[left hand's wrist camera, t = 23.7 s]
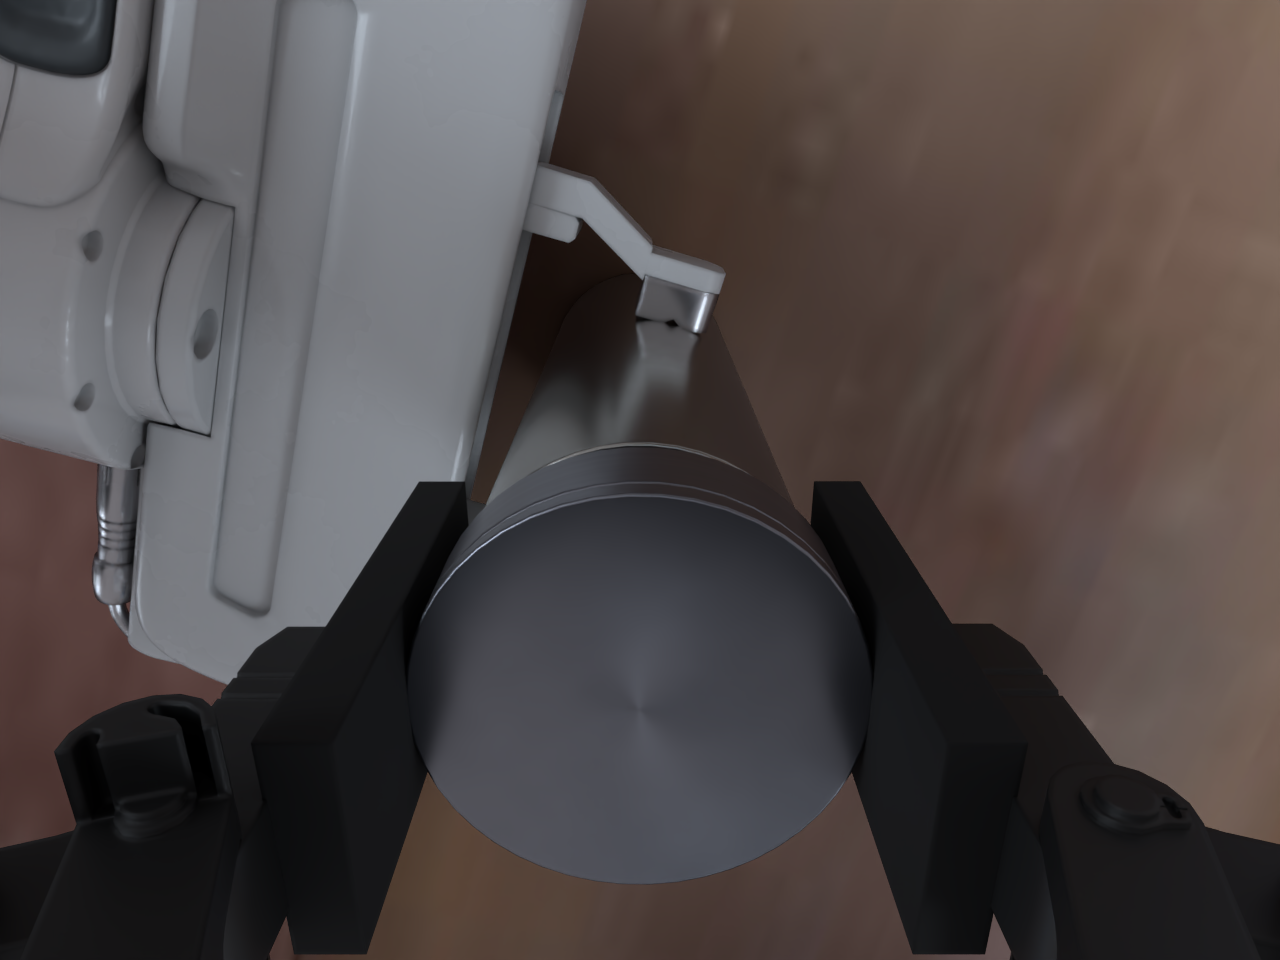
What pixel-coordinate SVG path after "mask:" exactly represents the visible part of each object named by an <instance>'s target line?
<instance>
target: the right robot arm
mask: <svg viewBox="0 0 1280 960" xmlns="http://www.w3.org/2000/svg"><path fill="white" fill-rule="evenodd" d="M586 1H587V0H0V438H1V439H5V440H9V441H12V442H16V443H20V444H23V445H26V446H30V447H34V448H38V449H42V450H46V451H50V452H54V453H58V454H62V455H66V456H70V457H74V458H78V459H82V460H86V461H90V462H94V463H98V470H97V490H96V513H97V521H98V550H97V552H96V553H95V555H94V559H93V564H92V584H93V590H94V594H95V597H96V599H97V600H98V601H99V602H101V603H103V604H107V605H108V606H109V610H110V613H111V615H112V617H113V619H114V621H115V623H116V624H117V626H118V627H119V629H120V630H121V631H122V632H123V633H124V634H125V635H126V636H127V637H128V641H129V644H130V645H131V646H132V647H133V648H134V649H136V650H137V651H139V652H141V653H143V654H145V655H148V656H150V657H153V658H157V659H161V660H165V661H170V662H174V663H178V664H181V665H183V666H185V667H187V668H189V669H191V670H193V671H196V672H198V673H200V674H202V675H204V676H207V677H209V678H211V679H214V680H217V681H219V682H222V683H224V684H227V685H228V684H229V683H230V682H231V680H232V679H233V678H237V672H238V671H239V670H240V668H241V667H242V666H243V664H244V663H245V662H246V660H247V659H248V658H249V656H250V655H251V654H252V652H253V651H254V650H255V648H257V647H258V646H259V645H261V644H262V643H264V642H265V641H267V640H268V639H270V638H271V637H273V636H274V635H276V634H277V633H279V632H280V631H282V630H283V629H285V628H286V627H326V625H327V624H328V622H329V620H330V619H331V617H332V616H333V614H334V613H335V611H336V610H337V608H338V606H339V605H340V603H341V602H342V600H343V599H344V597H345V596H346V594H347V592H348V591H349V589H350V588H351V586H352V585H353V583H354V582H355V580H356V579H357V577H358V575H359V574H360V572H361V571H362V569H363V568H364V566H365V565H366V563H367V561H368V560H369V558H370V557H371V555H372V554H373V552H374V551H375V549H376V548H377V546H378V544H379V543H380V541H381V540H382V538H383V537H384V535H385V534H386V532H387V530H388V529H389V527H390V526H391V524H392V523H393V521H394V520H395V518H396V517H397V515H398V513H399V512H400V510H401V509H402V507H403V506H404V504H405V503H406V501H407V499H408V498H409V496H410V495H411V493H412V492H413V490H414V489H415V487H416V486H417V484H418V482H419V481H465V486H466V499H467V511H468V523H469V525H470V523H471V522H472V521H473V520H474V518H475V517H476V516H477V515H478V514H479V513H480V512H481V511H482V510H483V509H484V508H485V506H486V504H483V503H479V502H475V501H472V500H470V499H471V494H472V490H473V486H474V482H475V477H476V473H477V469H478V464H479V460H480V456H481V452H482V447H483V443H484V439H485V434H486V430H487V426H488V422H489V417H490V413H491V409H492V404H493V400H494V396H495V392H496V387H497V383H498V379H499V374H500V370H501V366H502V362H503V357H504V353H505V349H506V344H507V340H508V336H509V332H510V327H511V323H512V319H513V314H514V310H515V306H516V302H517V297H518V293H519V289H520V284H521V280H522V276H523V272H524V267H525V263H526V259H527V254H528V250H529V246H530V242H531V237H532V233H536V234H539V235H543V236H546V237H550V238H553V239H557V240H560V241H564V242H567V243H570V242H571V241H573V240H574V239H575V238H576V237H577V235H578V234H579V232H580V231H581V228H582V224H583V220H584V221H585V222H586V223H587V224H588V225H589V226H590V227H591V228H592V229H593V230H594V231H595V232H596V233H597V234H598V235H599V236H600V237H601V238H602V239H603V240H604V241H605V242H606V243H607V244H608V245H609V246H610V247H611V249H612V250H613V251H614V252H615V253H616V254H617V255H618V256H619V257H620V258H621V259H622V260H623V261H624V262H625V263H626V264H627V265H628V266H629V267H630V268H631V269H632V270H633V271H634V272H635V273H636V274H637V275H638V276H639V277H640V278H641V283H640V287H639V291H638V294H637V298H636V302H635V307H636V308H635V315H636V316H640V317H643V318H647V319H650V320H653V321H660V322H667V321H670V320H673V319H674V321H675V322H676V323H677V324H678V326H679V327H681V328H684V329H686V330H689V331H692V332H696V333H706V332H707V329H708V326H709V323H710V320H711V317H712V314H713V312H714V309H715V306H716V303H717V300H718V297H719V293H720V290H721V287H722V284H723V281H724V278H725V275H726V273H725V271H724V270H723V268H722V267H720V266H718V265H716V264H713V263H711V262H709V261H706V260H702V259H699V258H696V257H692V256H689V255H686V254H682V253H679V252H676V251H672V250H669V249H666V248H662V247H659V246H656V245H653V244H652V238H651V237H650V236H649V235H648V234H647V233H646V232H645V231H644V230H643V229H642V228H641V227H640V225H639V224H638V223H637V222H636V221H635V220H634V219H633V218H632V217H631V216H630V215H629V214H628V213H627V211H626V210H625V209H624V208H623V207H622V206H621V205H620V204H619V203H618V202H617V201H616V200H615V199H614V197H613V196H612V195H611V194H610V193H609V192H608V191H607V190H606V189H605V188H604V187H603V186H602V185H601V183H600V182H599V181H598V180H597V179H596V178H594V177H591V176H588V175H585V174H581V173H578V172H575V171H571V170H568V169H565V168H562V167H558V166H555V165H552V164H549V160H550V156H551V152H552V147H553V143H554V139H555V134H556V130H557V126H558V122H559V117H560V113H561V109H562V104H563V100H564V96H565V92H566V87H567V83H568V79H569V74H570V70H571V66H572V62H573V57H574V53H575V49H576V44H577V40H578V36H579V32H580V27H581V23H582V19H583V14H584V10H585V6H586ZM130 601H131V602H130ZM128 602H130V613H129V611H128V609H127V606H126V603H128Z"/></svg>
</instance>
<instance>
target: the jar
mask: <svg viewBox="0 0 1280 960" xmlns="http://www.w3.org/2000/svg"><path fill="white" fill-rule="evenodd" d="M640 283H641V278H640V277H639V276H638V275H637V274H636V273H631V274H624V275H620V276H616V277H612V278H610V279H607V280H605V281H603V282H601V283H599V284H597V285H596V286H594V287H592V288H591V289H589V290H588V291H587V292H586V293H584V294H583V295H582V296H581V297H580V298H579V299H578V300H577V301H576V302H575V304H574V305H573V306H572V308H571V309H570V310H569V312H568V314H567V315H566V317H565V319H564V321H563V323H562V326H561V328H560V330H559V333H558V335H557V337H556V340H555V342H554V345H553V347H552V349H551V352H550V354H549V356H548V359H547V361H546V363H545V366H544V368H543V371H542V373H541V375H540V378H539V380H538V382H537V385H536V387H535V390H534V392H533V394H532V397H531V399H530V401H529V404H528V406H527V408H526V411H525V413H524V416H523V418H522V420H521V423H520V425H519V427H518V430H517V432H516V435H515V437H514V439H513V442H512V444H511V446H510V449H509V451H508V454H507V456H506V458H505V461H504V463H503V465H502V468H501V470H500V472H499V475H498V477H497V480H496V482H495V484H494V487H493V489H492V491H491V494H490V496H489V499H488V501H487V503H486V506H487V505H488V504H489V503H490V502H491V501H492V500H494V499H495V498H496V497H497V496H498V495H499V494H501V493H502V492H504V491H505V490H506V489H508V488H509V487H511V486H512V485H513V484H515V483H516V482H518V481H519V480H521V479H523V478H525V477H527V476H528V475H530V474H532V473H534V472H536V471H538V470H540V469H542V468H544V467H546V466H549V465H551V464H554V463H557V462H559V461H562V460H565V459H567V458H570V457H574V456H578V455H582V454H586V453H591V452H595V451H599V450H608V449H617V448H626V447H645V448H664V449H671V450H678V451H685V452H690V453H694V454H697V455H701V456H705V457H708V458H712V459H716V460H718V461H721V462H723V463H725V464H728V465H730V466H733V467H735V468H737V469H740V470H742V471H744V472H746V473H747V474H749V475H751V476H753V477H754V478H756V479H758V480H760V481H761V482H763V483H765V484H767V485H768V486H769V487H770V488H772V489H773V490H774V491H776V492H777V493H778V494H779V495H781V496H782V497H783V498H785V499H786V500H787V501H788V502H789V503H790V504H791V505H792V506H793V507H794V505H793V503H792V500H791V498H790V496H789V493H788V491H787V489H786V486H785V484H784V481H783V479H782V477H781V474H780V472H779V470H778V467H777V465H776V462H775V460H774V458H773V455H772V453H771V451H770V448H769V446H768V444H767V441H766V439H765V436H764V434H763V432H762V429H761V427H760V425H759V422H758V420H757V418H756V415H755V413H754V410H753V408H752V406H751V403H750V401H749V399H748V396H747V394H746V392H745V389H744V387H743V384H742V382H741V380H740V377H739V375H738V373H737V370H736V368H735V365H734V363H733V361H732V358H731V356H730V354H729V351H728V349H727V347H726V344H725V342H724V339H723V337H722V335H721V332H720V330H719V328H718V325H717V323H716V321H715V319H714V317H713V315H712V317H711V320H710V323H709V326H708V329H707V332H706V333H696V332H692V331H689V330H686V329H684V328H681V327H679V326H678V324H677V323H676V322H675V321H674V319H673V320H670V321H667V322H660V321H653V320H650V319H647V318H643V317H640V316H636V315H635V308H636V307H635V302H636V298H637V294H638V291H639V287H640ZM486 506H485V507H486ZM794 508H795V507H794Z"/></svg>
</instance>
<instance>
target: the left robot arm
mask: <svg viewBox="0 0 1280 960" xmlns="http://www.w3.org/2000/svg"><path fill="white" fill-rule="evenodd" d="M468 526H469V523H468V511H467V499H466V486H465V481H419V482H418V484H417V486H416V487H415V489H414V490H413V492H412V493H411V495H410V496H409V498H408V499H407V501H406V503H405V504H404V506H403V507H402V509H401V510H400V512H399V513H398V515H397V517H396V518H395V520H394V521H393V523H392V524H391V526H390V527H389V529H388V530H387V532H386V534H385V535H384V537H383V538H382V540H381V541H380V543H379V544H378V546H377V548H376V549H375V551H374V552H373V554H372V555H371V557H370V558H369V560H368V561H367V563H366V565H365V566H364V568H363V569H362V571H361V572H360V574H359V575H358V577H357V579H356V580H355V582H354V583H353V585H352V586H351V588H350V589H349V591H348V592H347V594H346V596H345V597H344V599H343V600H342V602H341V603H340V605H339V606H338V608H337V610H336V611H335V613H334V614H333V616H332V617H331V619H330V620H329V622H328V624H327V625H326V627H286V628H285V629H283V630H282V631H280V632H279V633H277V634H276V635H274V636H273V637H271V638H270V639H268V640H267V641H265V642H264V643H262V644H261V645H259V646H258V647H257V648H255V650H254V651H253V652H252V654H251V655H250V656H249V658H248V659H247V660H246V662H245V663H244V664H243V666H242V667H241V668H240V670H239V671H238V672H237V678H233V679H232V680H231V682H230V683H229V684H228V686H227V687H226V688H225V690H224V691H223V692H222V696H221V699H217V700H216V701H215V703H214V704H213V705H212V706H210V705H209V704H208V703H207V702H205V701H204V700H203V699H201V698H197V697H192V696H187V695H183V694H172V695H154V696H149V697H145V698H141V699H137V700H133V701H129V702H125V703H122V704H120V705H117V706H115V707H113V708H111V709H108V710H106V711H104V712H102V713H99V714H97V715H95V716H93V717H91V718H90V719H89V720H87V721H86V722H84V723H83V724H81V725H80V726H78V727H77V728H76V729H74V730H73V731H71V732H70V733H69V734H68V735H67V736H66V738H65V739H64V740H63V741H62V742H61V744H60V745H59V746H58V747H57V749H56V750H55V751H54V753H55V756H56V760H57V763H58V766H59V769H60V772H61V776H62V779H63V782H64V785H65V788H66V792H67V795H68V798H69V801H70V804H71V807H72V811H73V814H74V817H75V820H76V823H77V825H76V827H75V830H74V831H70V832H67V833H63V834H60V835H57V836H52V837H48V838H43V839H39V840H35V841H30V842H26V843H21V844H17V845H12V846H8V847H3V848H0V960H270V956H269V953H270V951H271V948H272V946H273V944H274V942H275V940H276V937H277V935H278V933H279V931H280V929H281V926H282V924H283V922H284V920H285V918H286V916H287V921H288V926H289V931H290V936H291V941H292V945H293V950H294V954H367V951H368V948H369V945H370V942H371V939H372V936H373V933H374V930H375V927H376V924H377V921H378V918H379V915H380V912H381V909H382V906H383V903H384V900H385V897H386V894H387V891H388V888H389V885H390V882H391V879H392V876H393V873H394V870H395V867H396V864H397V862H398V859H399V856H400V853H401V850H402V847H403V844H404V841H405V838H406V835H407V832H408V829H409V826H410V823H411V820H412V817H413V814H414V811H415V808H416V805H417V802H418V799H419V796H420V793H421V790H422V787H423V784H424V781H425V778H426V775H427V772H428V771H427V769H426V768H425V766H424V764H423V761H422V759H421V757H420V754H419V752H418V750H417V747H416V745H415V743H414V739H413V735H412V729H411V722H410V714H409V705H408V697H407V687H406V670H407V662H408V658H409V653H410V648H411V644H412V639H413V637H414V634H415V632H416V629H417V627H418V624H419V622H420V619H421V617H422V614H423V612H424V610H425V607H426V605H427V603H428V601H429V599H430V597H431V594H432V592H433V590H434V588H435V586H436V584H437V581H438V579H439V577H440V575H441V573H442V570H443V568H444V566H445V564H446V562H447V560H448V557H449V555H450V554H451V552H452V550H453V549H454V547H455V545H456V543H457V542H458V540H459V538H460V537H461V535H462V534H463V532H464V531H465V530H466V529H467V527H468ZM811 527H812V528H813V530H814V531H815V532H816V534H817V535H818V536H819V538H820V539H821V540H822V542H823V544H824V546H825V548H826V550H827V552H828V554H829V556H830V557H831V559H832V561H833V563H834V565H835V568H836V570H837V572H838V574H839V576H840V578H841V581H842V583H843V585H844V587H845V589H846V592H847V594H848V596H849V598H850V600H851V602H852V605H853V607H854V609H855V611H856V613H857V616H858V618H859V620H860V622H861V625H862V628H863V631H864V634H865V637H866V640H867V643H868V646H869V650H870V656H871V662H872V668H873V689H872V699H871V707H870V715H869V723H868V731H867V736H866V739H865V742H864V746H863V749H862V751H861V753H860V755H859V757H858V760H857V762H856V764H855V766H854V768H853V770H852V774H853V777H854V780H855V783H856V786H857V789H858V792H859V795H860V798H861V801H862V804H863V807H864V810H865V813H866V816H867V819H868V822H869V825H870V828H871V831H872V834H873V837H874V840H875V843H876V846H877V849H878V852H879V855H880V858H881V861H882V864H883V867H884V870H885V873H886V876H887V879H888V882H889V885H890V888H891V890H892V893H893V896H894V899H895V902H896V905H897V908H898V911H899V914H900V917H901V920H902V923H903V926H904V929H905V932H906V935H907V938H908V941H909V944H910V947H911V950H912V953H913V954H985V952H986V947H987V942H988V937H989V932H990V927H991V922H992V918H993V913H994V915H995V917H996V919H997V922H998V924H999V926H1000V928H1001V930H1002V932H1003V935H1004V937H1005V939H1006V941H1007V943H1008V946H1009V948H1010V950H1011V956H1010V960H1280V844H1275V843H1271V842H1266V841H1262V840H1257V839H1253V838H1248V837H1244V836H1239V835H1235V834H1230V833H1226V832H1222V831H1219V830H1215V829H1212V828H1208V827H1205V826H1204V823H1203V822H1202V820H1201V819H1200V817H1199V816H1198V815H1197V813H1196V812H1195V810H1194V809H1193V807H1192V806H1191V805H1190V803H1189V802H1187V801H1186V800H1185V799H1184V798H1182V797H1181V796H1180V795H1179V794H1177V793H1176V792H1175V791H1174V790H1172V789H1171V788H1170V787H1169V786H1167V785H1166V784H1164V783H1162V782H1160V781H1158V780H1156V779H1154V778H1152V777H1150V776H1148V775H1146V774H1144V773H1142V772H1140V771H1137V770H1133V769H1130V768H1126V767H1123V766H1119V765H1116V764H1114V763H1113V762H1112V760H1111V759H1110V758H1109V757H1108V755H1107V754H1106V753H1105V751H1104V750H1103V749H1102V747H1101V746H1100V745H1099V743H1098V742H1097V741H1096V739H1095V738H1094V737H1093V735H1092V734H1091V733H1090V732H1089V730H1088V729H1087V728H1086V726H1085V725H1084V724H1083V722H1082V721H1081V720H1080V718H1079V717H1078V716H1077V714H1076V713H1075V712H1074V710H1073V709H1072V708H1071V707H1070V705H1069V704H1068V703H1067V701H1066V700H1065V699H1064V697H1063V696H1059V694H1058V689H1057V688H1056V687H1055V685H1054V684H1053V683H1052V682H1051V680H1050V679H1049V678H1048V676H1047V675H1043V670H1042V668H1041V667H1040V666H1039V664H1038V663H1037V662H1036V660H1035V659H1034V658H1033V656H1032V655H1031V654H1030V653H1029V651H1028V650H1027V649H1026V647H1025V646H1024V645H1023V644H1021V643H1020V642H1018V641H1017V640H1016V639H1014V638H1013V637H1011V636H1010V635H1008V634H1007V633H1005V632H1004V631H1002V630H1001V629H999V628H998V627H996V626H995V625H993V624H952V623H951V622H950V620H949V618H948V617H947V615H946V614H945V612H944V611H943V609H942V608H941V606H940V605H939V603H938V601H937V600H936V598H935V597H934V595H933V594H932V592H931V591H930V589H929V587H928V586H927V584H926V583H925V581H924V580H923V578H922V577H921V575H920V574H919V572H918V570H917V569H916V567H915V566H914V564H913V563H912V561H911V560H910V558H909V556H908V555H907V553H906V552H905V550H904V549H903V547H902V546H901V544H900V542H899V541H898V539H897V538H896V536H895V535H894V533H893V532H892V530H891V529H890V527H889V525H888V524H887V522H886V521H885V519H884V518H883V516H882V515H881V513H880V511H879V510H878V508H877V507H876V505H875V504H874V502H873V501H872V499H871V497H870V496H869V494H868V493H867V491H866V490H865V488H864V487H863V485H862V484H861V482H860V481H814V490H813V502H812V515H811Z"/></svg>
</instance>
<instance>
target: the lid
mask: <svg viewBox="0 0 1280 960" xmlns="http://www.w3.org/2000/svg"><path fill="white" fill-rule="evenodd" d="M406 687H407V697H408V705H409V714H410V722H411V729H412V735H413V739H414V743H415V745H416V747H417V750H418V752H419V754H420V757H421V759H422V761H423V764H424V766H425V768H426V769H427V771H428V773H429V774H430V776H431V778H432V779H433V781H434V783H435V784H436V786H437V788H438V789H439V790H440V791H441V793H442V794H443V795H444V796H445V798H446V799H447V800H448V801H449V803H450V804H451V805H452V806H453V808H454V809H455V810H456V811H457V812H458V813H460V814H461V815H462V816H463V817H464V818H465V819H466V820H467V821H468V822H469V823H470V824H471V825H472V826H473V827H474V828H476V829H477V830H478V831H480V832H481V833H482V834H484V835H485V836H486V837H488V838H489V839H490V840H492V841H493V842H495V843H496V844H498V845H500V846H501V847H503V848H505V849H507V850H508V851H510V852H512V853H513V854H515V855H517V856H519V857H521V858H523V859H526V860H528V861H530V862H532V863H535V864H537V865H539V866H541V867H544V868H547V869H550V870H553V871H557V872H560V873H563V874H566V875H569V876H574V877H579V878H583V879H588V880H593V881H600V882H608V883H617V884H660V883H672V882H680V881H686V880H691V879H696V878H702V877H706V876H709V875H713V874H716V873H720V872H723V871H726V870H730V869H732V868H735V867H737V866H740V865H742V864H745V863H747V862H749V861H752V860H754V859H756V858H758V857H760V856H762V855H764V854H766V853H767V852H769V851H771V850H773V849H775V848H777V847H778V846H780V845H781V844H783V843H784V842H786V841H787V840H789V839H790V838H791V837H793V836H794V835H796V834H797V833H799V832H800V831H801V830H802V829H804V828H805V827H806V826H807V825H808V824H809V823H810V822H811V821H812V820H814V819H815V818H816V817H817V816H818V815H819V814H820V813H821V812H822V811H823V810H824V809H825V807H826V806H827V805H828V804H829V803H830V802H831V801H832V799H833V798H834V797H835V796H836V795H837V794H838V792H839V791H840V789H841V788H842V786H843V784H844V783H845V781H846V780H847V778H848V777H849V775H850V774H851V772H852V770H853V768H854V766H855V764H856V762H857V760H858V757H859V755H860V753H861V751H862V749H863V746H864V742H865V739H866V736H867V731H868V723H869V715H870V707H871V699H872V689H873V668H872V662H871V656H870V650H869V646H868V643H867V640H866V637H865V634H864V631H863V628H862V625H861V622H860V620H859V618H858V616H857V613H856V611H855V609H854V607H853V605H852V602H851V600H850V598H849V596H848V594H847V592H846V589H845V587H844V585H843V583H842V581H841V578H840V576H839V574H838V572H837V570H836V568H835V565H834V563H833V561H832V559H831V557H830V556H829V554H828V552H827V550H826V548H825V546H824V544H823V542H822V540H821V539H820V538H819V536H818V535H817V534H816V532H815V531H814V530H813V528H812V527H811V525H810V524H809V523H808V521H807V520H806V519H805V518H804V517H803V516H802V515H801V514H800V513H799V512H798V511H797V510H796V509H795V508H794V507H793V506H792V505H791V504H790V503H789V502H788V501H787V500H786V499H785V498H783V497H782V496H781V495H779V494H778V493H777V492H776V491H774V490H773V489H772V488H770V487H769V486H768V485H767V484H765V483H763V482H761V481H760V480H758V479H756V478H754V477H753V476H751V475H749V474H747V473H746V472H744V471H742V470H740V469H737V468H735V467H733V466H730V465H728V464H725V463H723V462H721V461H718V460H716V459H712V458H708V457H705V456H701V455H697V454H694V453H690V452H685V451H678V450H671V449H664V448H645V447H626V448H617V449H608V450H599V451H595V452H591V453H586V454H582V455H578V456H574V457H570V458H567V459H565V460H562V461H559V462H557V463H554V464H551V465H549V466H546V467H544V468H542V469H540V470H538V471H536V472H534V473H532V474H530V475H528V476H527V477H525V478H523V479H521V480H519V481H518V482H516V483H515V484H513V485H512V486H511V487H509V488H508V489H506V490H505V491H504V492H502V493H501V494H499V495H498V496H497V497H496V498H495V499H494V500H492V501H491V502H490V503H489V504H488V505H487V506H486V507H485V508H484V509H483V510H482V511H481V512H480V513H479V514H478V515H477V516H476V517H475V518H474V520H473V521H472V522H471V523H470V525H469V526H468V527H467V529H466V530H465V531H464V532H463V534H462V535H461V537H460V538H459V540H458V542H457V543H456V545H455V547H454V549H453V550H452V552H451V554H450V555H449V557H448V560H447V562H446V564H445V566H444V568H443V570H442V573H441V575H440V577H439V579H438V581H437V584H436V586H435V588H434V590H433V592H432V594H431V597H430V599H429V601H428V603H427V605H426V607H425V610H424V612H423V614H422V617H421V619H420V622H419V624H418V627H417V629H416V632H415V634H414V637H413V639H412V644H411V648H410V653H409V658H408V662H407V670H406Z"/></svg>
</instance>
